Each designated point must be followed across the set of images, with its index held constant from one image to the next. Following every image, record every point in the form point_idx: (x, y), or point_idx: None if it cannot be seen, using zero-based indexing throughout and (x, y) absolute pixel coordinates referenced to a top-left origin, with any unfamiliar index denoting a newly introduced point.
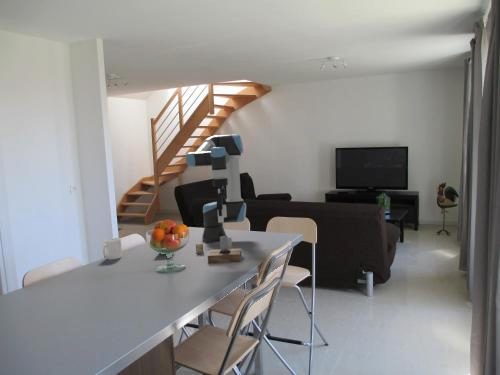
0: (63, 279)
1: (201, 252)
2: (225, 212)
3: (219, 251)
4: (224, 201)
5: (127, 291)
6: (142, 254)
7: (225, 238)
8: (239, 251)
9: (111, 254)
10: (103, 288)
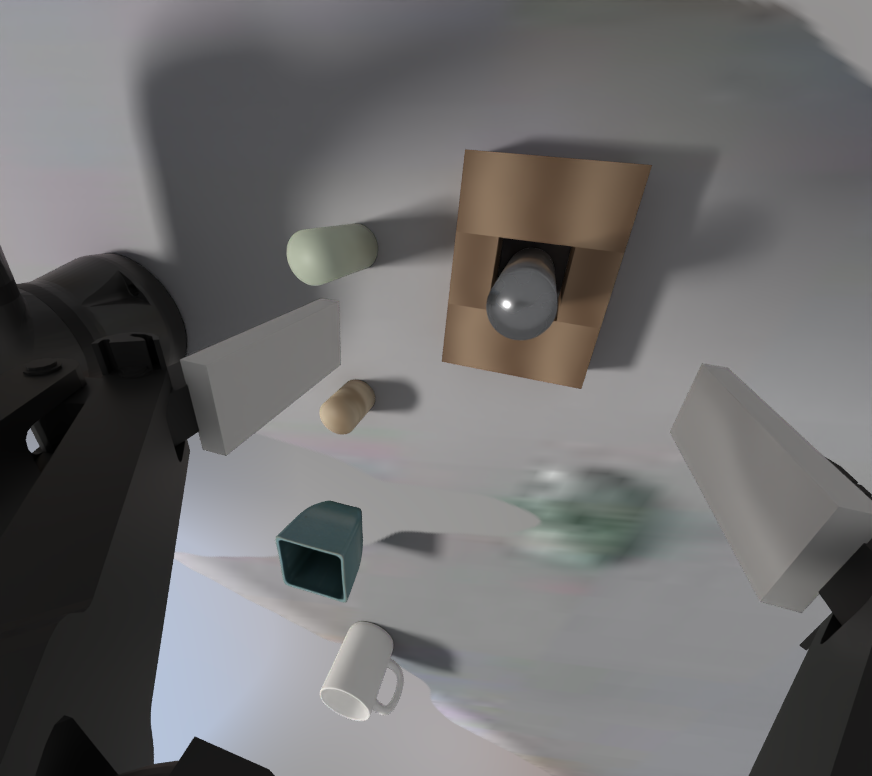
0: (565, 741)
1: (370, 391)
2: (303, 332)
3: None
4: (155, 433)
5: None
6: None
7: (554, 291)
8: (555, 166)
9: (388, 662)
10: (734, 700)
